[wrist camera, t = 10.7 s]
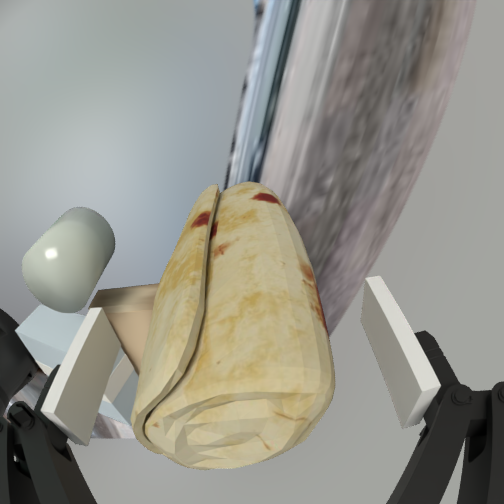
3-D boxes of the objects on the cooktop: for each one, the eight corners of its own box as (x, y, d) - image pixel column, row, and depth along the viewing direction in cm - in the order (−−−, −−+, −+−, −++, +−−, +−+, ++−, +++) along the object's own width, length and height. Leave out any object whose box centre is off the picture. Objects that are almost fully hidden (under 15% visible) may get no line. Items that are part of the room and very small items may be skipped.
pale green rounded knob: (81, 274, 28) (55, 320, 22) (46, 224, 25) (9, 264, 19) (127, 252, 27) (104, 300, 21) (91, 195, 24) (54, 233, 18)
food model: (221, 272, 29) (210, 495, 11) (163, 228, 26) (79, 450, 9) (299, 199, 25) (398, 421, 8) (240, 144, 23) (246, 337, 6)
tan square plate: (142, 375, 36) (138, 393, 33) (98, 290, 29) (88, 308, 26) (249, 369, 36) (250, 389, 33) (229, 274, 29) (228, 294, 26)
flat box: (82, 370, 36) (63, 396, 32) (40, 303, 30) (14, 330, 26) (149, 393, 32) (130, 426, 28) (107, 319, 26) (77, 356, 22)
